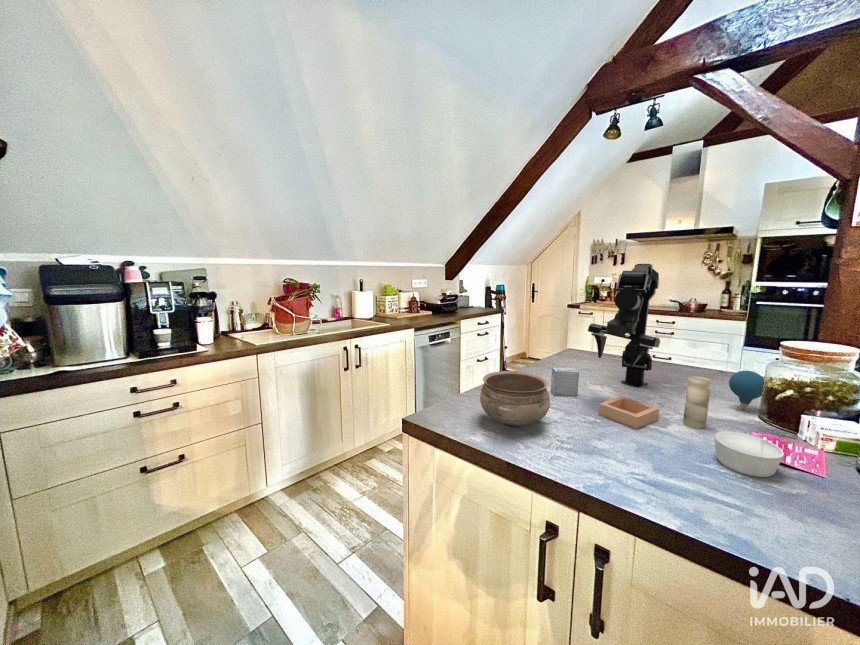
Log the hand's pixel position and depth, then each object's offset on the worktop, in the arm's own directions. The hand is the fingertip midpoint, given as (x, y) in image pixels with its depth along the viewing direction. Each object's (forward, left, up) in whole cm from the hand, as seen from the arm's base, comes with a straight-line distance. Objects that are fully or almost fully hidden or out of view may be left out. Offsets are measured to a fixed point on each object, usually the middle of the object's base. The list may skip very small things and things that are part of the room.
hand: (615, 362), depth 106 cm
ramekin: (+6, +34, -14) cm, 38 cm away
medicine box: (+4, -15, -14) cm, 21 cm away
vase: (-7, +19, -14) cm, 25 cm away
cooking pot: (+34, -8, -14) cm, 38 cm away
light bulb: (-31, +22, -14) cm, 41 cm away
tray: (+4, +7, -14) cm, 16 cm away
